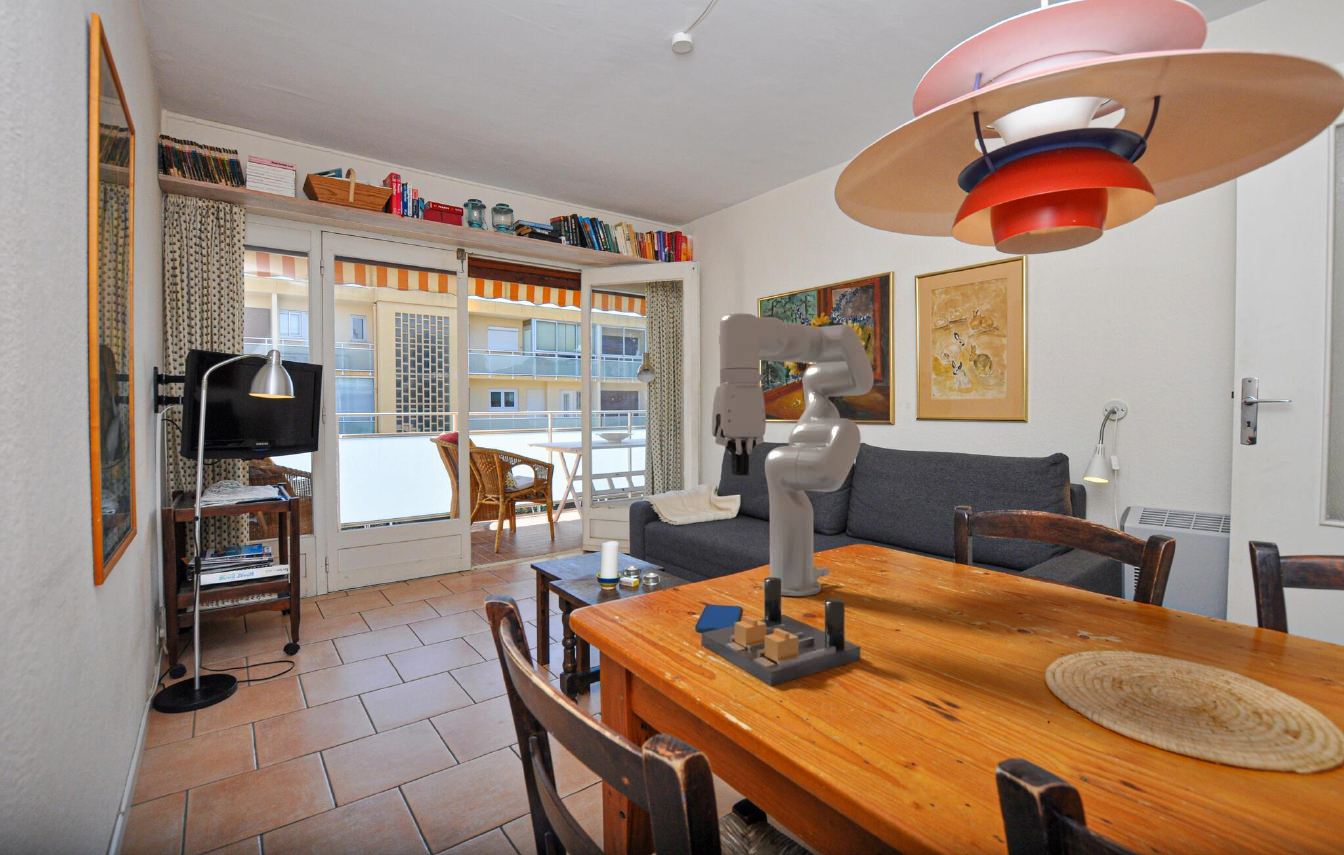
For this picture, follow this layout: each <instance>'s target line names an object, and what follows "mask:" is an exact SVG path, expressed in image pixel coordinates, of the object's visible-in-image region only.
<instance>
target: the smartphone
mask: <svg viewBox="0 0 1344 855" xmlns="http://www.w3.org/2000/svg"><path fill="white" fill-rule="evenodd" d="M742 610H743V607H742V606H740V605H739V606H738V605H725V604H724V605H723V604H706V605H705V606H704V609H703V610H702V612H701V615H700V616H699V619H698V620H697V622H696V624H695V627H694V628H695V629H694V630H695V632H698V633H705V632H709V631H713V630H718V629H722V628H727V627H731V626H735V623H736V622H740V618H741V614H742Z"/></svg>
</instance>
